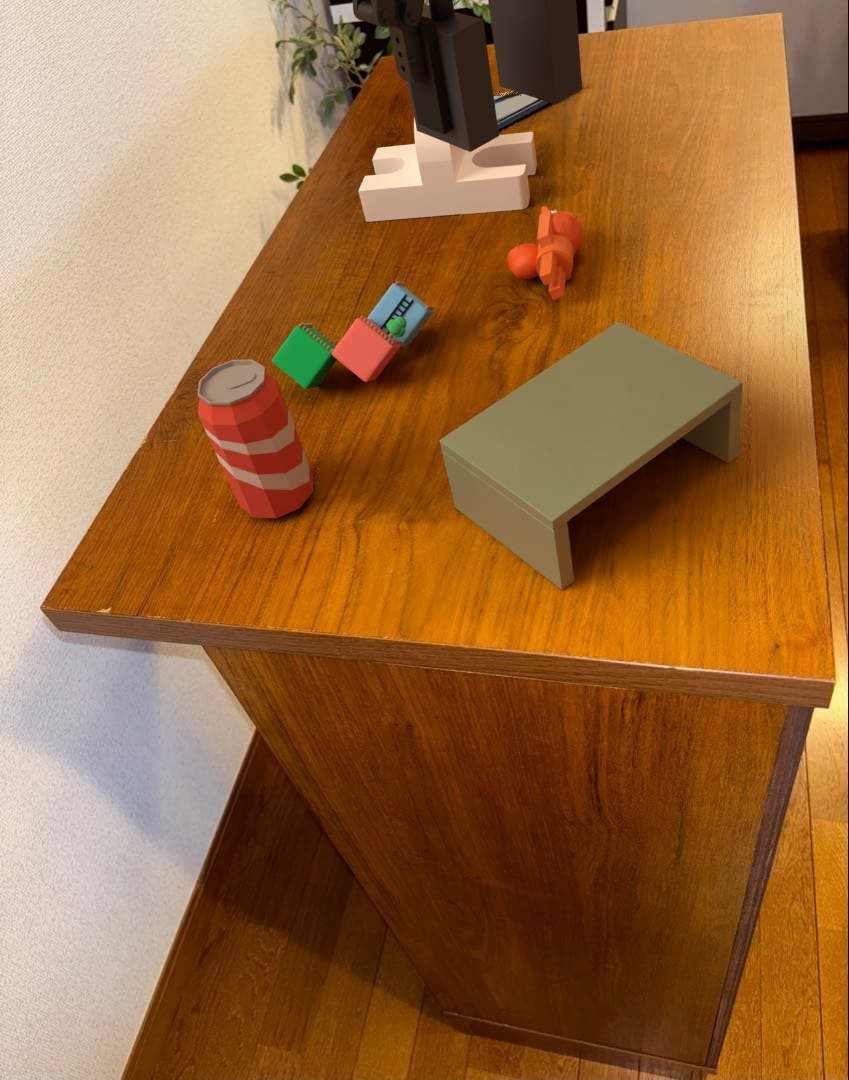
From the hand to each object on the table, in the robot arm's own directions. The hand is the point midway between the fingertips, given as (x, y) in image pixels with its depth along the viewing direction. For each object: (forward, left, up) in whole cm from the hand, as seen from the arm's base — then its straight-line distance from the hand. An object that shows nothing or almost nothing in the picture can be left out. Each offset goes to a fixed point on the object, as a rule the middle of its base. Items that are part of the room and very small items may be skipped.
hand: (497, 93), depth 63 cm
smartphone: (+45, -36, -26) cm, 63 cm away
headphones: (0, 0, -1) cm, 1 cm away
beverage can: (+8, +22, -26) cm, 35 cm away
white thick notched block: (+35, -18, -26) cm, 47 cm away
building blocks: (+17, +7, -26) cm, 32 cm away
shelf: (-10, +4, -26) cm, 28 cm away
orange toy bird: (+14, -13, -26) cm, 33 cm away
